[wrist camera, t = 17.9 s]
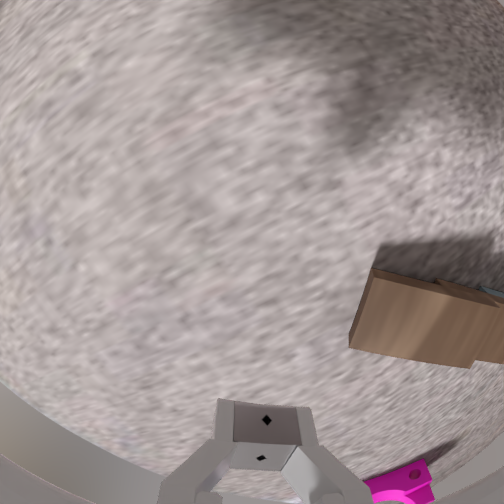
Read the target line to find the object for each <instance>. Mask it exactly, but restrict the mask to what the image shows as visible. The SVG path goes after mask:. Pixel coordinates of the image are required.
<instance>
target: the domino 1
mask: <svg viewBox="0 0 504 504" xmlns="http://www.w3.org/2000/svg"><path fill="white" fill-rule="evenodd" d="M500 309H501V308H500V307H499V306H498V305H497V304H496V303H495V302H494V301H493V300H492V299H491V298H487V297H483V296H480V295H476V294H472V293H468V292H464V291H461V290H457V289H453V288H449V287H445V286H441V285H437V284H433V283H429V282H425V281H421V280H418V279H414V278H410V277H406V276H402V275H398V274H394V273H390V272H386V271H382V270H377V269H373V268H371V270H370V274H369V277H368V280H367V283H366V286H365V290H364V293H363V296H362V299H361V302H360V305H359V308H358V310H357V313H356V316H355V319H354V322H353V325H352V327H351V330H350V333H349V348H352V349H357V350H362V351H367V352H371V353H376V354H381V355H386V356H392V357H397V358H403V359H408V360H414V361H420V362H426V363H432V364H439V365H445V366H452V367H460V368H468V369H470V368H471V366H472V364H473V362H474V361H475V359H476V357H477V355H478V354H479V352H480V350H481V348H482V346H483V345H484V343H485V341H486V339H487V337H488V335H489V333H490V331H491V329H492V327H493V325H494V323H495V320H496V318H497V316H498V314H499V312H500Z"/></svg>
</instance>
